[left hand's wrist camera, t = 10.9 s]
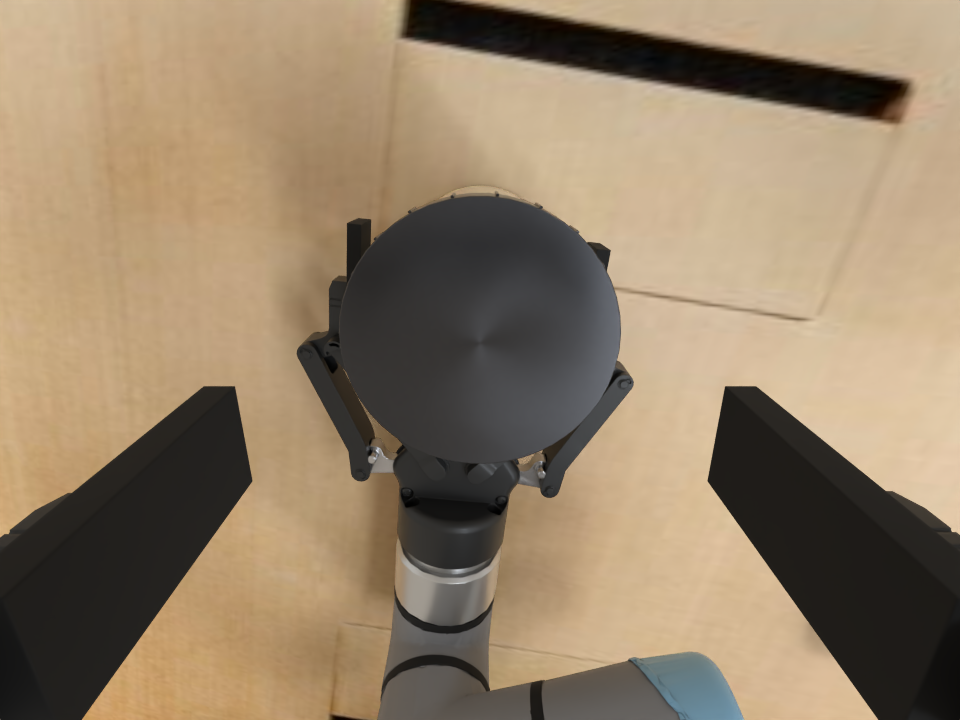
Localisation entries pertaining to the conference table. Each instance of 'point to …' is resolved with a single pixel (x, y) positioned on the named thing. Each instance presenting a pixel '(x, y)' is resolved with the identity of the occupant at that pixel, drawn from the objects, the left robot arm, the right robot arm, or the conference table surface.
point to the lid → (479, 328)
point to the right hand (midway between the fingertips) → (480, 232)
